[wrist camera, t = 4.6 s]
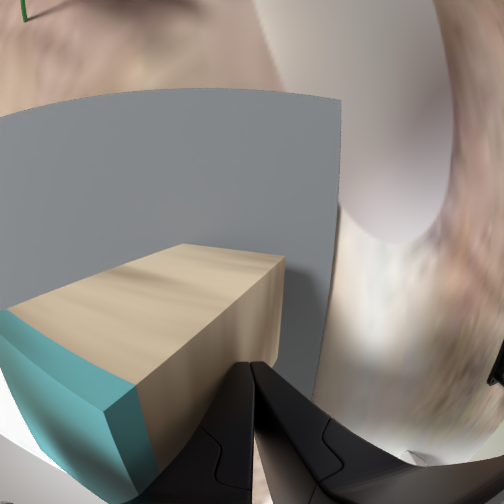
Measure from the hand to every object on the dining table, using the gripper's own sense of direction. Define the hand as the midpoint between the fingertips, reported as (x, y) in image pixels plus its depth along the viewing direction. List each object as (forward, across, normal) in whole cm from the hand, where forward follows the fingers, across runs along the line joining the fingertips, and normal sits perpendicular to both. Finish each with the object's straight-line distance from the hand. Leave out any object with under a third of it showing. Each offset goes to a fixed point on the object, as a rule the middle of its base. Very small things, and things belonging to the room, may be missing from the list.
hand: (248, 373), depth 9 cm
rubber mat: (+7, +6, 0) cm, 9 cm away
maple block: (+6, 0, 0) cm, 6 cm away
